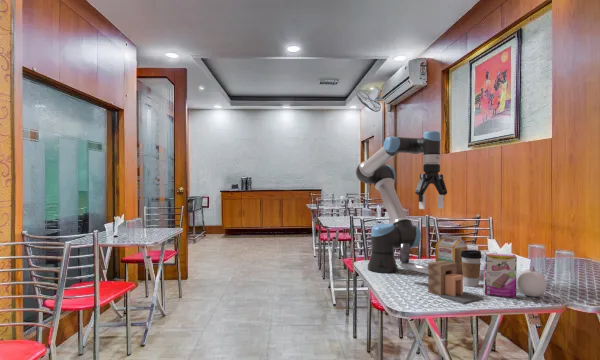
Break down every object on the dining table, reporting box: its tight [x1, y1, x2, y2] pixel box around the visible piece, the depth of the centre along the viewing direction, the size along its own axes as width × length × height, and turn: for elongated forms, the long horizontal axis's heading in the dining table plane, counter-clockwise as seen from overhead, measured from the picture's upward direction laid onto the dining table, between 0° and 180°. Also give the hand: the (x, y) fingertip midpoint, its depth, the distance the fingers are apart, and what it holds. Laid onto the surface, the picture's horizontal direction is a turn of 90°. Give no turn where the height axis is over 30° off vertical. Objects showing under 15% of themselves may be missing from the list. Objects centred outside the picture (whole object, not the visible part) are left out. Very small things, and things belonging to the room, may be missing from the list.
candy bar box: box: [483, 251, 518, 299], centre depth 146 cm, size 11×5×16 cm, turn 71°
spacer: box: [445, 273, 464, 297], centre depth 144 cm, size 4×6×8 cm
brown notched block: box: [427, 260, 457, 297], centre depth 149 cm, size 6×10×12 cm, turn 122°
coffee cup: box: [461, 249, 483, 288], centre depth 161 cm, size 8×8×15 cm
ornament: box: [516, 265, 548, 298], centre depth 145 cm, size 10×10×12 cm
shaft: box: [399, 243, 428, 275], centre depth 159 cm, size 21×4×11 cm, turn 32°
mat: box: [439, 291, 483, 305], centre depth 142 cm, size 10×12×1 cm
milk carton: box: [434, 234, 468, 275], centre depth 181 cm, size 11×11×19 cm
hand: (431, 208), depth 173 cm, fingers open, 13 cm apart
